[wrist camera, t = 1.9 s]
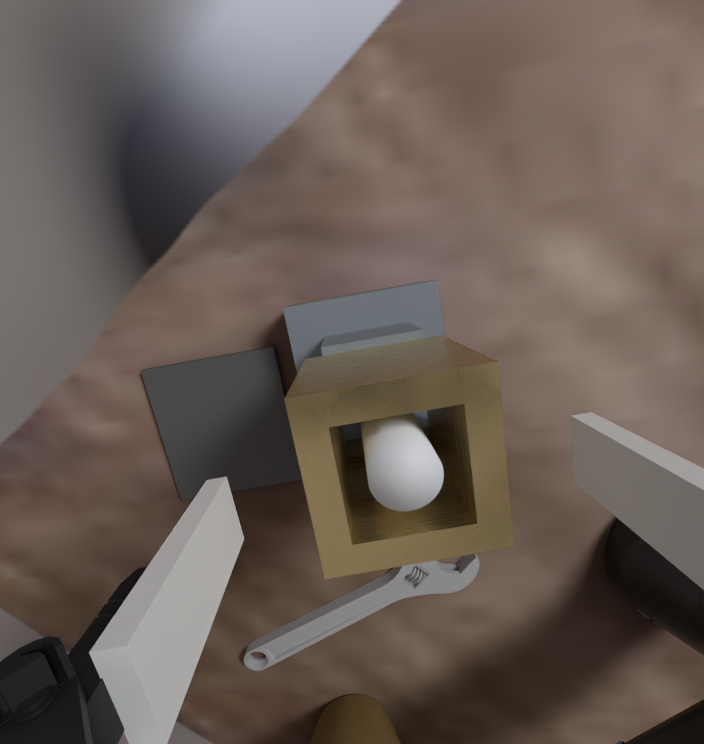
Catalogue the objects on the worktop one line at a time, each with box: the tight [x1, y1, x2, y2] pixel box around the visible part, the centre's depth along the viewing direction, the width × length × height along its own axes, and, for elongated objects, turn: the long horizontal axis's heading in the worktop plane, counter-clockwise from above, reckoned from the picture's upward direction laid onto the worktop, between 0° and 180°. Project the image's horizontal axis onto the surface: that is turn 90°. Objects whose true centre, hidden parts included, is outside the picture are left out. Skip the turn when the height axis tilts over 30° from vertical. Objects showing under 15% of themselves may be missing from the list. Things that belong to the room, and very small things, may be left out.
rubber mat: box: [141, 346, 302, 501], centre depth 31 cm, size 12×11×1 cm
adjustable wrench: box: [244, 554, 479, 671], centre depth 35 cm, size 25×6×2 cm, turn 116°
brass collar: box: [284, 335, 514, 579], centre depth 18 cm, size 8×8×8 cm
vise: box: [283, 280, 445, 511], centre depth 23 cm, size 14×11×17 cm
